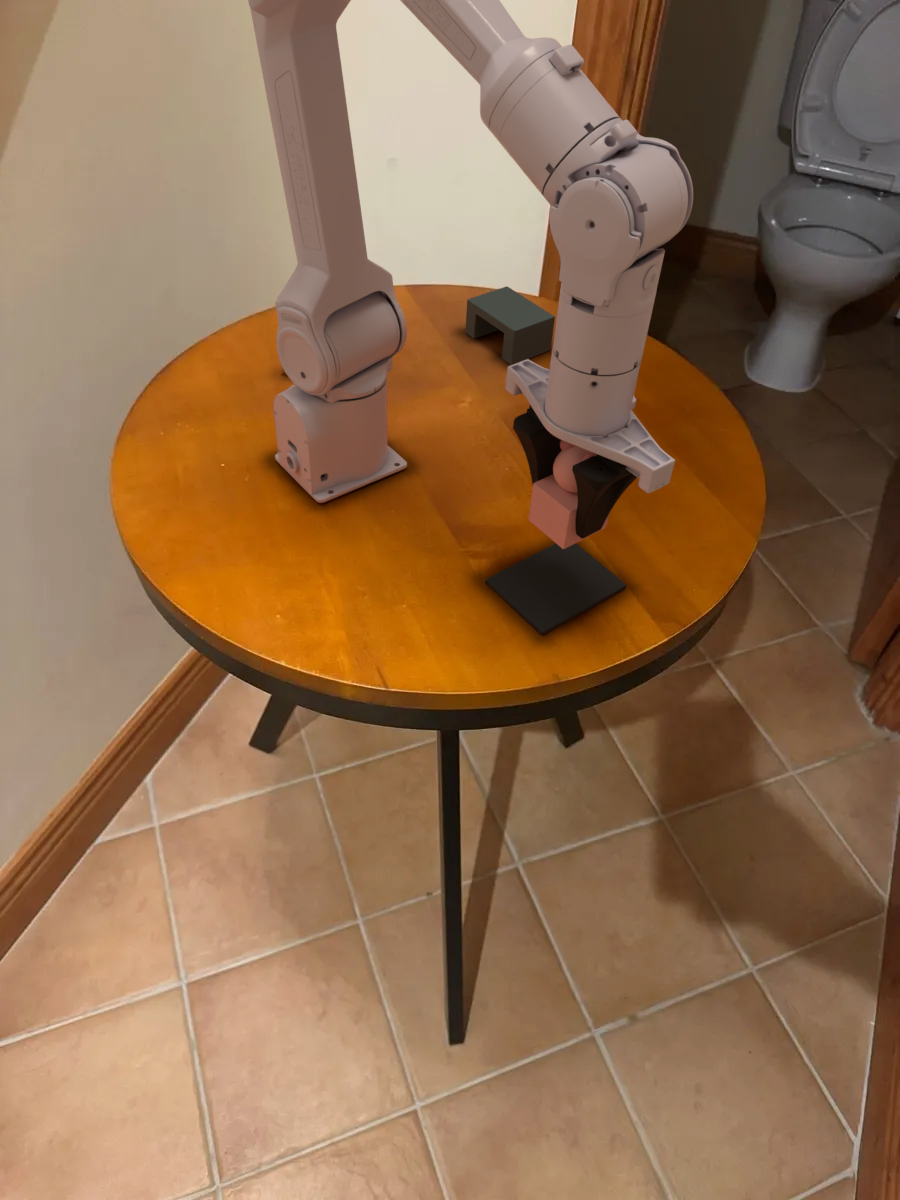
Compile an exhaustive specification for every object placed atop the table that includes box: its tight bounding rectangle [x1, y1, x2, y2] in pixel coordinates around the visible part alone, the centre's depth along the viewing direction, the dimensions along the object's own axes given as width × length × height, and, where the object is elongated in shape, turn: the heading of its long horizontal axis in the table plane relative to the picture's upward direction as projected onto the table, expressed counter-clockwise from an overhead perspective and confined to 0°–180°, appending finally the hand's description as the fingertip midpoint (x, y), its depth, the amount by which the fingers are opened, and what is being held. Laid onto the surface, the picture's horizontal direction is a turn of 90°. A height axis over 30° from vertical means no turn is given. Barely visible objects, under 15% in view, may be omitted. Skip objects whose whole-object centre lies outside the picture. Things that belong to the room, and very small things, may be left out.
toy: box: [528, 440, 610, 549], centre depth 66 cm, size 4×4×7 cm
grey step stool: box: [464, 286, 556, 366], centre depth 98 cm, size 6×8×4 cm
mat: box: [484, 543, 628, 636], centre depth 73 cm, size 9×7×1 cm
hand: (568, 514), depth 67 cm, fingers closed on toy, 4 cm apart
